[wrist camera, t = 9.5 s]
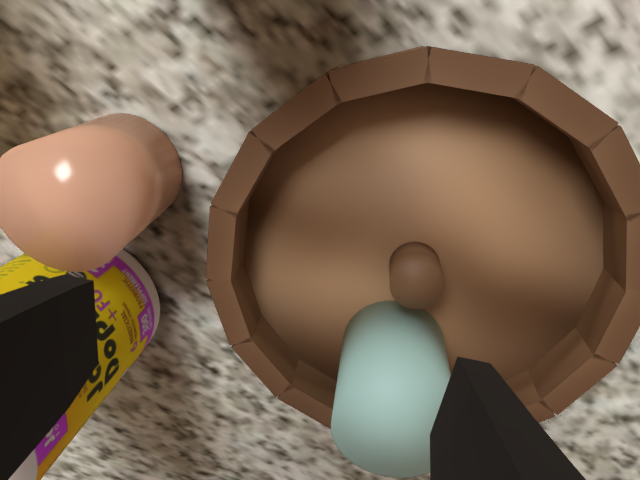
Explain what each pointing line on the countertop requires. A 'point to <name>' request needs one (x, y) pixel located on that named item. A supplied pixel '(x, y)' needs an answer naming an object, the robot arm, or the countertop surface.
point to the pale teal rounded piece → (389, 389)
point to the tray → (432, 225)
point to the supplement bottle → (112, 338)
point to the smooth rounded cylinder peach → (87, 190)
